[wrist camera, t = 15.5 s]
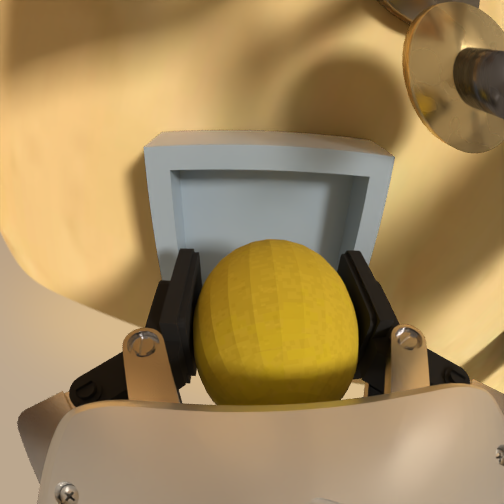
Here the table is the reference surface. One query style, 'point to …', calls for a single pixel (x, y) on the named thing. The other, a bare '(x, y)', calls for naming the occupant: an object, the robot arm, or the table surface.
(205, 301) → the lemon
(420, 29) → the balance
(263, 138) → the dish
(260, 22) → the table surface
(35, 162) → the table surface
